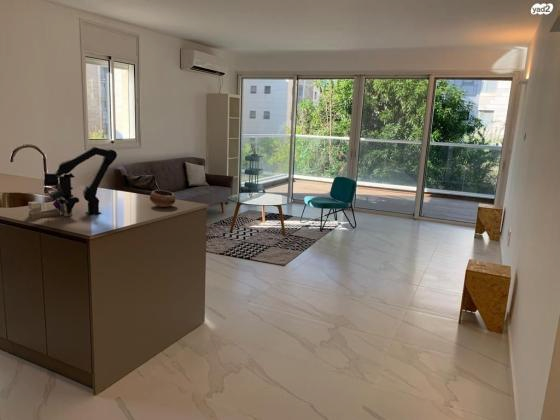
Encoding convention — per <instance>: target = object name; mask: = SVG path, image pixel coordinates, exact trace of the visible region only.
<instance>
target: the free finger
mask: <svg viewBox="0 0 560 420" xmlns="http://www.w3.org/2000/svg"><path fill="white" fill-rule="evenodd" d="M59 210H60V216H64V217H67V216H73V210H72V211H71V213H70V214H68V213H67V208H66V205H65V204H61V205H60V209H59Z"/></svg>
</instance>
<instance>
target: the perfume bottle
mask: <svg viewBox="0 0 560 420" xmlns="http://www.w3.org/2000/svg"><path fill="white" fill-rule="evenodd" d="M58 187H60V182H59V179H58V184H56V186H53V188H54V189H55V190H56V191H57V190H58ZM52 205H53V207H55V209H56V208H57V209H59V210H60V203H59V202H58V201H57V199H56V200H54V201H53V203H52Z"/></svg>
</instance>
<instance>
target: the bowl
mask: <svg viewBox="0 0 560 420" xmlns="http://www.w3.org/2000/svg"><path fill="white" fill-rule="evenodd" d="M149 200H150V201H151V203H152V204H154V206H157V207H159V208H167V207H171V206H173V205H174V204H175V202H176V195H175V194H174V193H173V192H171V191H168V190H163V189H155V190H154V189H153V190H152V192H151V193H150V195H149Z"/></svg>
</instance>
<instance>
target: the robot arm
mask: <svg viewBox="0 0 560 420" xmlns="http://www.w3.org/2000/svg"><path fill="white" fill-rule="evenodd" d="M95 156H100V157H102V162H101V164H100V165H99V168H98V170H97V172H95V173H96V174H95V175H94V177H93V179H92V182H91V183H90V184H89V185H85V187H84V190H82V196H83V198H84V200H85V201H87V211H85V214H87V215H89V216H92V215H93V216H94V215H100V214H102V212H100V210H99V209H100V208H99V205H100V199H99V198H98V197H97V193H98V188H99V185H100V183H102V180H103V178H104V177H105V174H106V172H107V171H108V169H109V167H110V166H111V164H112V163H114V161H115V160H116V159H117V157H118V154H117V152H116V151H115V150H114V149H113V148H108V149H104V148H101V147H100V148H99V147H96V146H92V147H91V148H90V149H88V150H86V151H85V152H83V153H81V154H79V155H78V156H76V157H74V158H72V159H68V160H65V161H62V162H61V163H60V164H58V169H57V170H56V171H55V172H54V173H48V172H47V173H46V172H45V173H43V175H44V176H43V177H44V178H43V183H44V186H45V187H55V186H56V184H58V183H60V187H58V190H57V189H56V190H55V191H52V192H50V193H48V196H49V198H50V200H52V201H56V200H57V201H58V202H59V203H60V205H61V204H65V205H66V208H67V213H68V214H70V213H71V211H72V212H73V208H74V207H75V204H77V203H80V199H79V197H77V196H74V194H73V193H72V190H74V189H73V187H72V179H73V178H75V175H74V174H73V173H72V171H73V170H74V169H75V168H76V167H77V166H79V165H80V164H82V163H83V162H85V161H87V160H89V159H91V158H92V157H95ZM58 180H59V181H58Z"/></svg>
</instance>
